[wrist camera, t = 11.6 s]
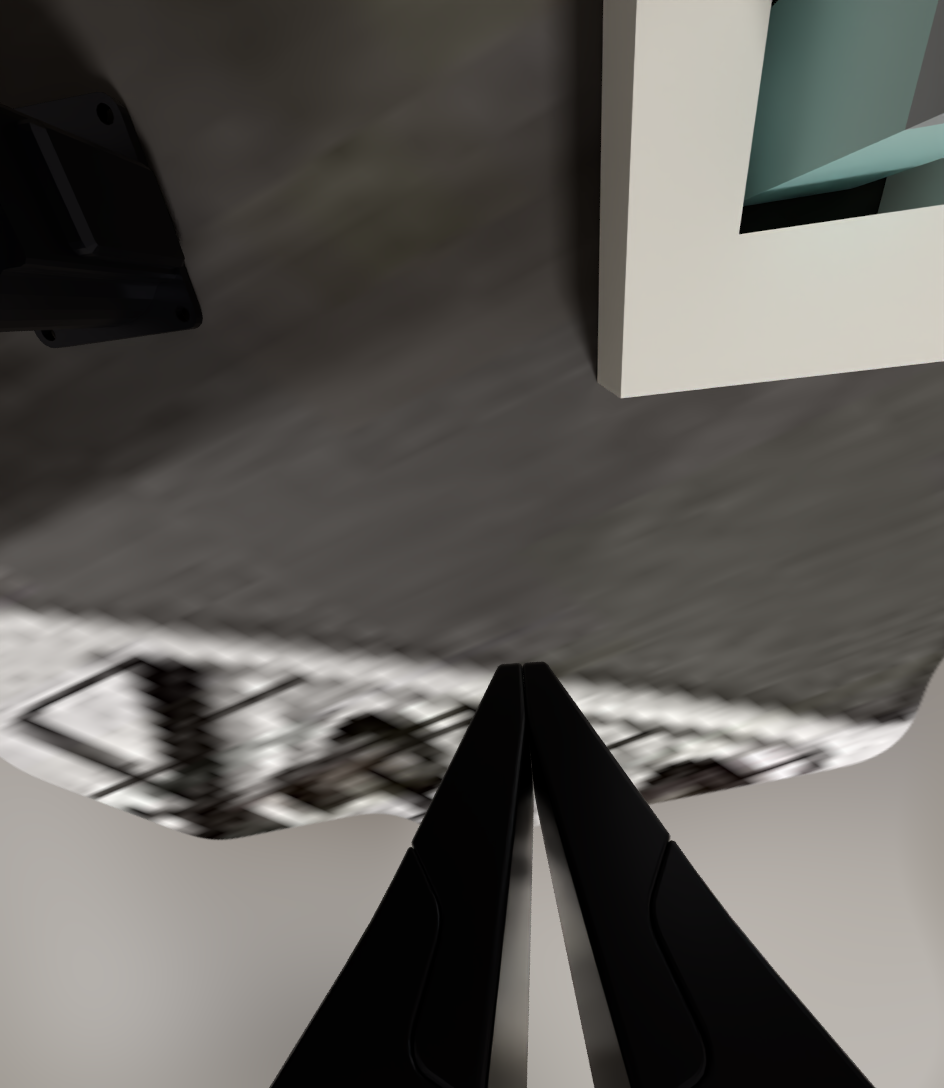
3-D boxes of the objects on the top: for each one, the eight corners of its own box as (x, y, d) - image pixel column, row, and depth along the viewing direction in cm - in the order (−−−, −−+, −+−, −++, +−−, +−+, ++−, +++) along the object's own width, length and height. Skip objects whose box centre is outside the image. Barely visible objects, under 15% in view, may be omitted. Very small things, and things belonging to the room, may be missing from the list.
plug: (722, 209, 14) (944, 112, 7) (742, 38, 12) (1066, -313, 5) (851, 188, 14) (1217, 64, 7) (892, 8, 12) (1449, -410, 5)
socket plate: (597, 382, 17) (625, 401, 13) (606, -224, 10) (667, -504, 7) (927, 343, 16) (1055, 352, 12) (1170, -362, 9) (1594, -782, 6)
